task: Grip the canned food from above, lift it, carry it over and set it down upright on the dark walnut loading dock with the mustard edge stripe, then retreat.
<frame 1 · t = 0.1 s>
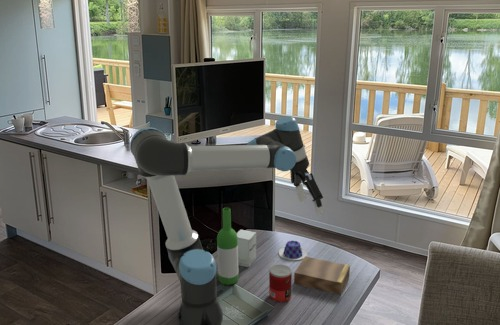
hand: (311, 206, 178), 28 cm above the table, tool tilted 20°, fingers open, 13 cm apart
canned food: (280, 296, 171), on the table
wine bottle: (228, 280, 181), on the table
pudding: (292, 254, 200), on the table
dock: (322, 280, 180), on the table
supplement box: (244, 262, 194), on the table
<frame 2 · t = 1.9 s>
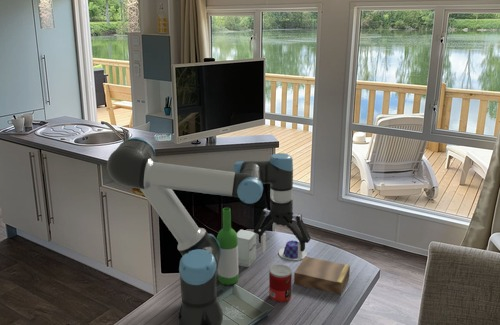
hand: (281, 254, 165), 17 cm above the table, tool pointing down, fingers open, 13 cm apart
nothing on the table moved.
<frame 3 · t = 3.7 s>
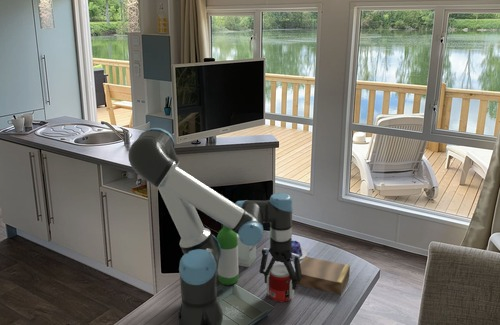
hand: (280, 293, 170), 1 cm above the table, tool pointing down, fingers closed on canned food, 8 cm apart
canned food: (280, 296, 171), on the table, touching gripper
everything else where it was.
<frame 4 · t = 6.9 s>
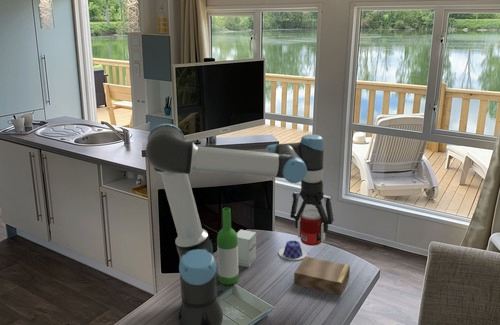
hand: (311, 237, 170), 20 cm above the table, tool pointing down, fingers closed on canned food, 8 cm apart
canned food: (311, 241, 171), point 19 cm above the table, touching gripper
everything else where it was.
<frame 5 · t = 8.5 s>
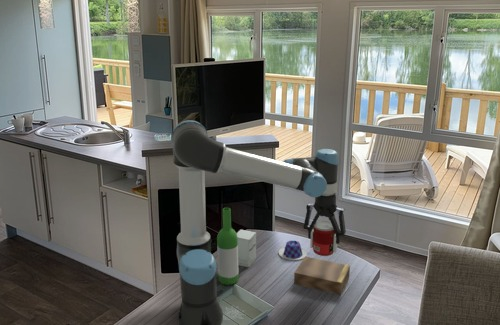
hand: (323, 248, 176), 14 cm above the table, tool pointing down, fingers closed on canned food, 8 cm apart
canned food: (323, 251, 176), point 12 cm above the table, touching gripper
everything else where it was.
when the fingers open (8 cm above the table, at t = 10.0 s): canned food drops 1 cm, resting on dock.
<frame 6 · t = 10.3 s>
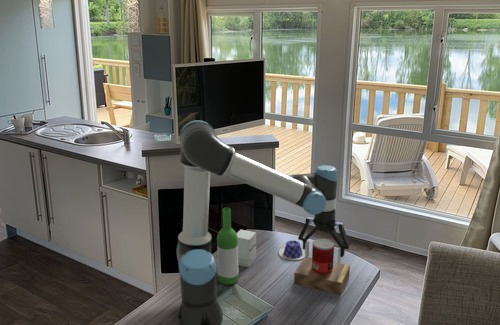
hand: (322, 260, 177), 9 cm above the table, tool pointing down, fingers open, 12 cm apart
canned food: (322, 269, 178), point 5 cm above the table, touching dock
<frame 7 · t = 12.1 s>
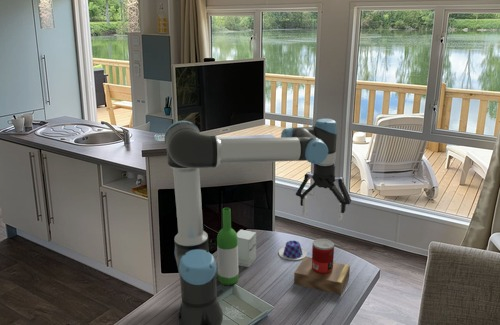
hand: (322, 217, 174), 26 cm above the table, tool pointing down, fingers open, 13 cm apart
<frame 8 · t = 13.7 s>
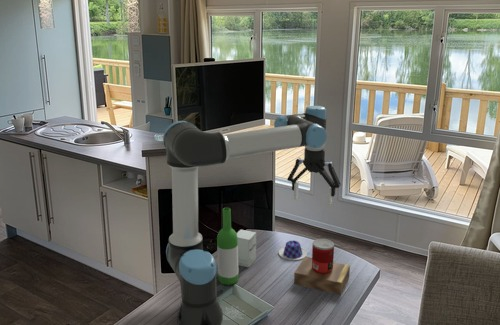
hand: (312, 201, 180), 29 cm above the table, tool pointing down, fingers open, 13 cm apart
at the end: canned food inside the target area (0.1 cm from its centre), point 4.8 cm above the table; canned food tilted 0°; the gripper is holding nothing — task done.
